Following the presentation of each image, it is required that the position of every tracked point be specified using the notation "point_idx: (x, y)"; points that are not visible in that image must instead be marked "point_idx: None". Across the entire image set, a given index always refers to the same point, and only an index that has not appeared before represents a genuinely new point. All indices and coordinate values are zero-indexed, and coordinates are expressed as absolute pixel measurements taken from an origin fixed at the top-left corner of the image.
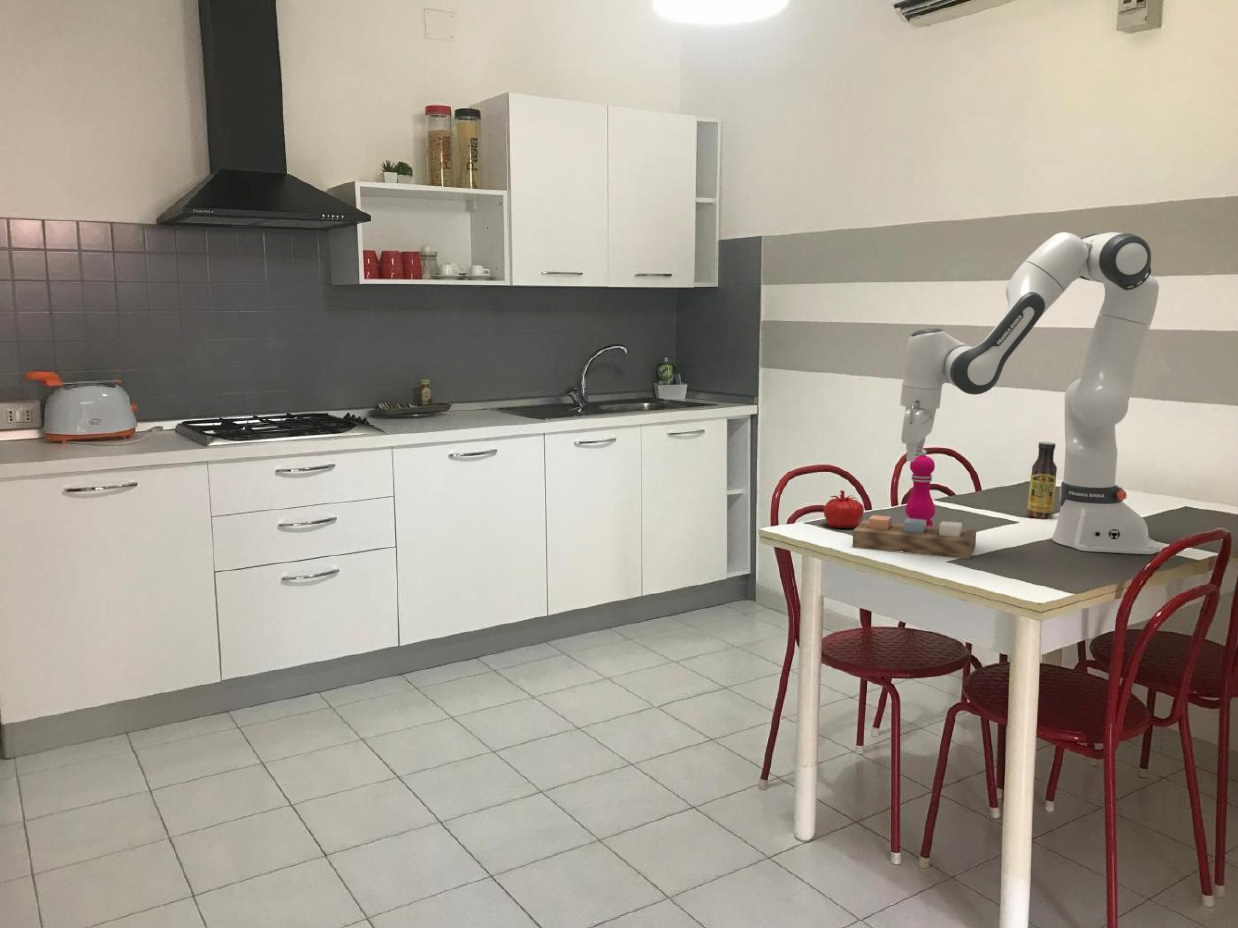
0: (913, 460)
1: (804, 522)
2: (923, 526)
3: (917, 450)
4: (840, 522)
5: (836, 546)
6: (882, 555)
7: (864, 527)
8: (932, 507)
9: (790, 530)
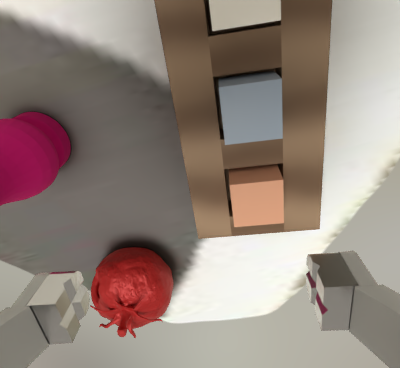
0: (354, 255)
1: None
2: (273, 77)
3: (72, 308)
4: (171, 273)
5: (315, 231)
6: (361, 133)
7: None
8: (5, 129)
9: (228, 317)
